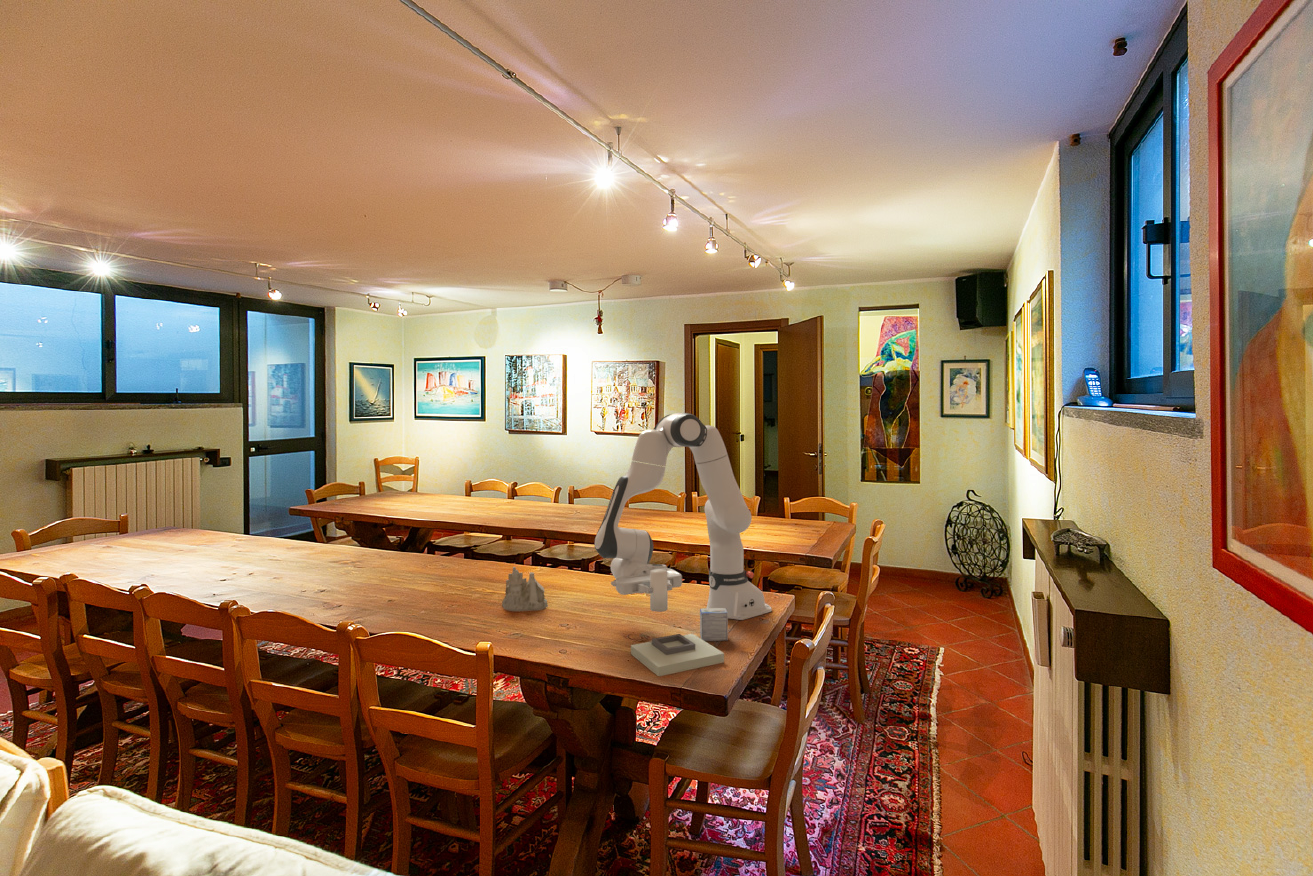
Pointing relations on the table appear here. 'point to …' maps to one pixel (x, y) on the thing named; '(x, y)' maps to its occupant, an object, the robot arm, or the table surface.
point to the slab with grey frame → (676, 654)
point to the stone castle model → (523, 593)
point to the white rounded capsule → (658, 590)
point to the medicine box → (714, 624)
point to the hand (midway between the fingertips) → (660, 589)
